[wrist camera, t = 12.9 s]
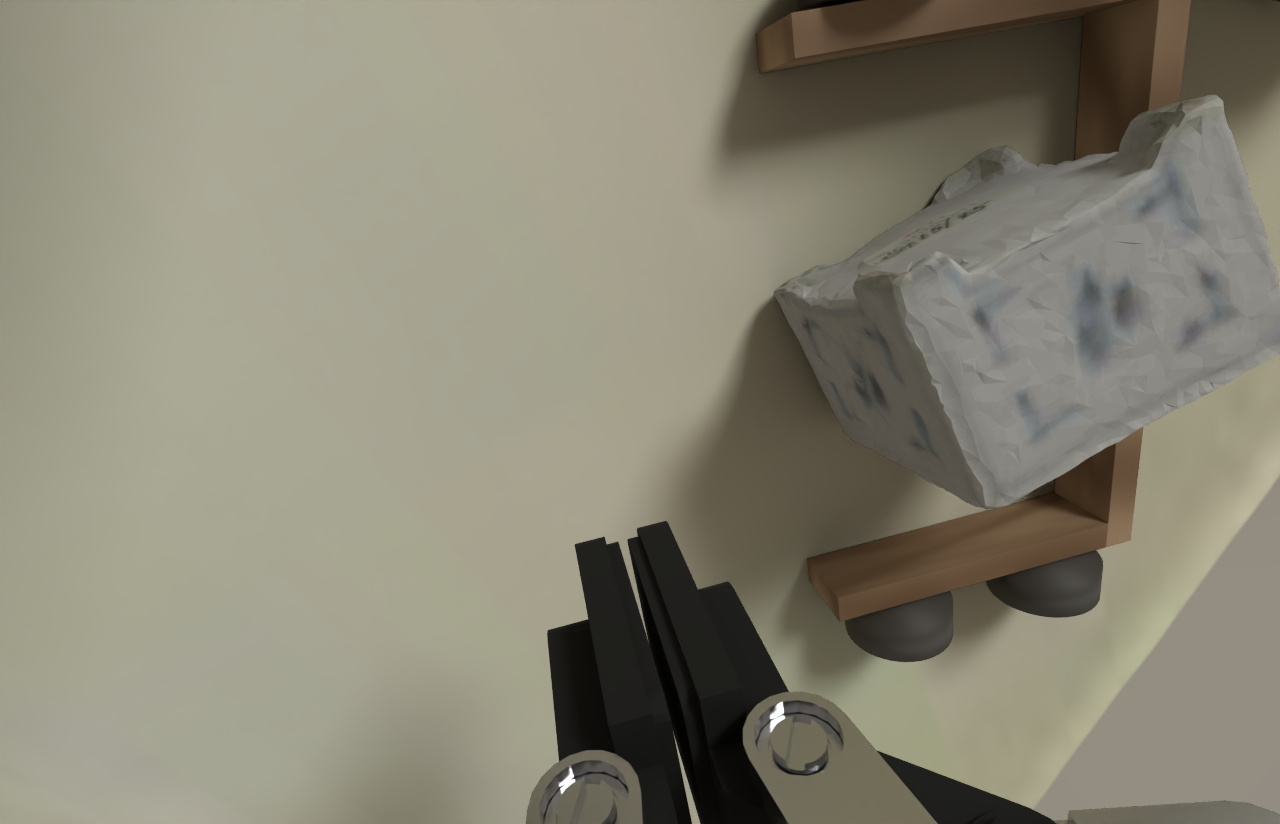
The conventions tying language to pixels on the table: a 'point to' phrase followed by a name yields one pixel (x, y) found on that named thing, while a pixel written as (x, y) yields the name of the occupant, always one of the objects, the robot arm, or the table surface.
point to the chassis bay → (1102, 484)
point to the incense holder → (1046, 307)
